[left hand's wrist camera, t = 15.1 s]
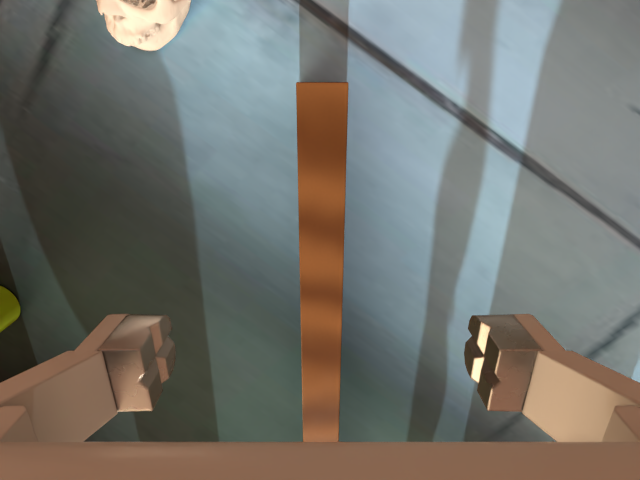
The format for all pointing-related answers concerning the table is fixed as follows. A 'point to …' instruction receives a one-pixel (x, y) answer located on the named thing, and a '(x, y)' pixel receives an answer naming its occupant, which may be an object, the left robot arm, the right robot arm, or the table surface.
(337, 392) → the bar
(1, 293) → the soap dispenser
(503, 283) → the table surface
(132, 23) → the skull bowl
